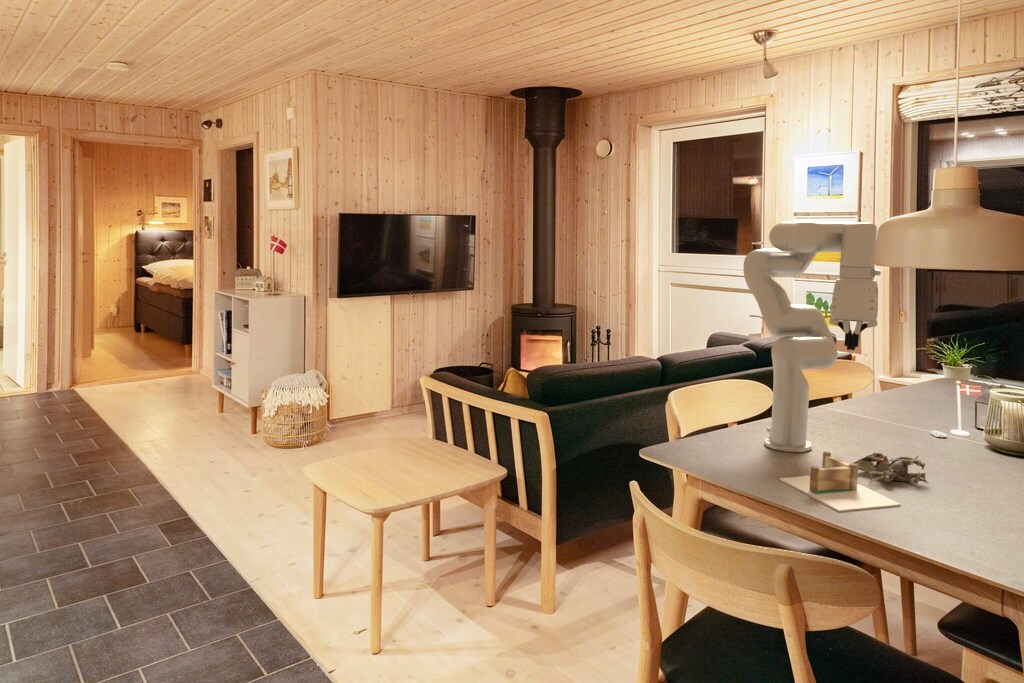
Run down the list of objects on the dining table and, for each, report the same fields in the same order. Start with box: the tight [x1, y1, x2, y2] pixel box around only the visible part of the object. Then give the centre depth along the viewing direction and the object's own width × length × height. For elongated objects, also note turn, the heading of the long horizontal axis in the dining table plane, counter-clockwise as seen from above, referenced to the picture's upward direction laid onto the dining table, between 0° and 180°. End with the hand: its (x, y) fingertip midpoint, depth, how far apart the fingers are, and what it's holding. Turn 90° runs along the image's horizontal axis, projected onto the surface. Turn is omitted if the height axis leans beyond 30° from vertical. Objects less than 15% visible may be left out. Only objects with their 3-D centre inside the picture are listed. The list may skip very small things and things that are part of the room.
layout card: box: [779, 475, 901, 513], centre depth 178 cm, size 22×16×1 cm
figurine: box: [853, 452, 926, 486], centre depth 189 cm, size 20×6×17 cm
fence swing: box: [809, 466, 851, 491], centre depth 177 cm, size 10×2×5 cm, turn 100°
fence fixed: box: [821, 451, 859, 491], centre depth 183 cm, size 12×2×6 cm, turn 14°
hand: (851, 349), depth 185 cm, fingers closed
